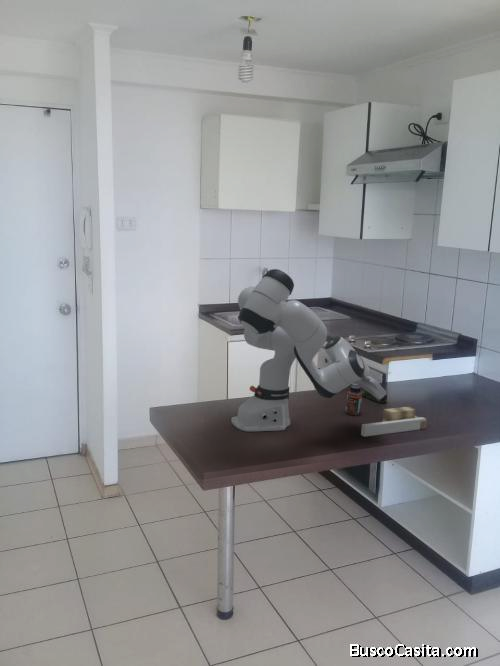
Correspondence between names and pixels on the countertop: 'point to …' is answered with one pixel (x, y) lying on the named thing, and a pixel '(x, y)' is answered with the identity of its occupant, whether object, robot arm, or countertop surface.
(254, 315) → the robot arm
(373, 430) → the board
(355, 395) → the supplement bottle
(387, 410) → the long beige block
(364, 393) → the vegetable
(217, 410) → the countertop surface
